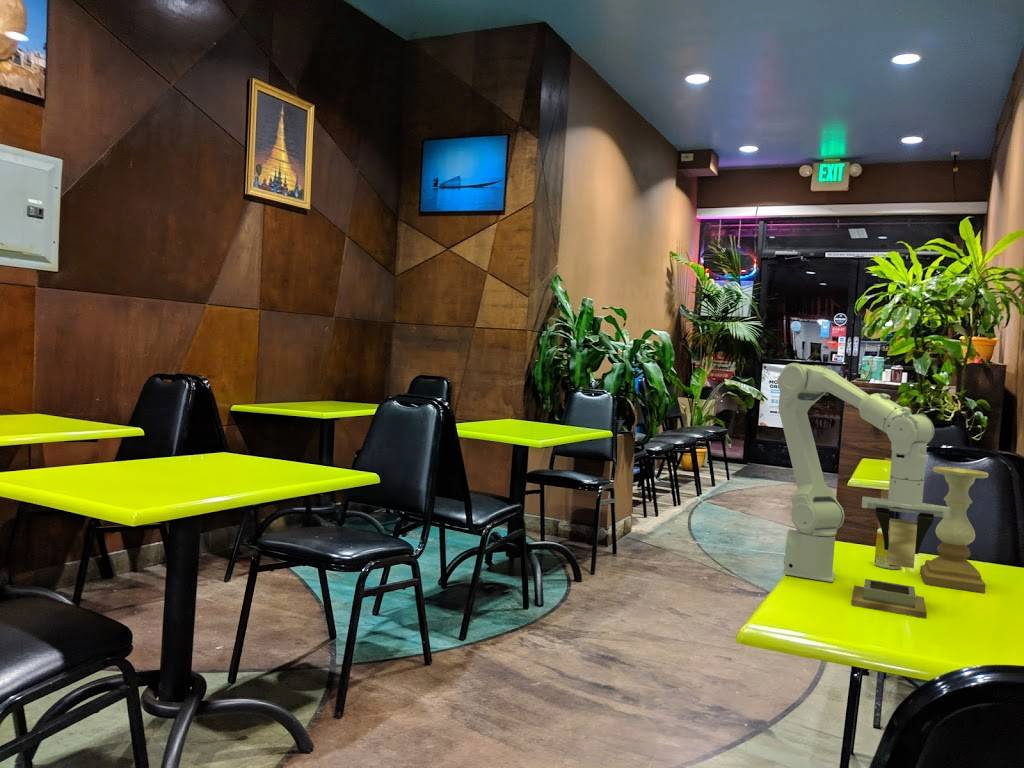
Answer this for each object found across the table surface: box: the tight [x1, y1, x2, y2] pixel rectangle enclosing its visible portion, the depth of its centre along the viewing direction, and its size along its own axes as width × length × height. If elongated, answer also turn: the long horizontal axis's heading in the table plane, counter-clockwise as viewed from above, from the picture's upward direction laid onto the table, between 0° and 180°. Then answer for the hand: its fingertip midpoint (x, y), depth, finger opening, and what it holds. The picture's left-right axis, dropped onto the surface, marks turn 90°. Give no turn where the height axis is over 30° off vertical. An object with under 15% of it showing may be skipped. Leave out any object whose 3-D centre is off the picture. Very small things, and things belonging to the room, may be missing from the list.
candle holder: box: [919, 466, 989, 594], centre depth 165 cm, size 11×11×24 cm
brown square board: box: [851, 585, 928, 619], centre depth 145 cm, size 12×12×1 cm
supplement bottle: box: [874, 523, 902, 570], centre depth 177 cm, size 6×6×10 cm
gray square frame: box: [863, 578, 917, 608], centre depth 145 cm, size 8×8×2 cm
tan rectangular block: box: [887, 517, 917, 569], centre depth 148 cm, size 4×4×8 cm
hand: (901, 551), depth 148 cm, fingers closed on tan rectangular block, 4 cm apart
